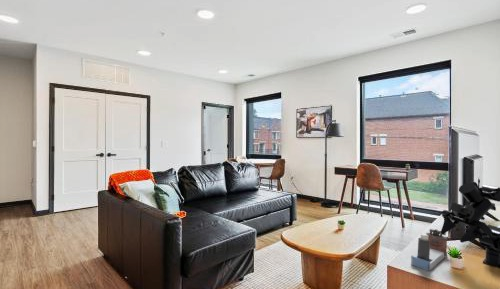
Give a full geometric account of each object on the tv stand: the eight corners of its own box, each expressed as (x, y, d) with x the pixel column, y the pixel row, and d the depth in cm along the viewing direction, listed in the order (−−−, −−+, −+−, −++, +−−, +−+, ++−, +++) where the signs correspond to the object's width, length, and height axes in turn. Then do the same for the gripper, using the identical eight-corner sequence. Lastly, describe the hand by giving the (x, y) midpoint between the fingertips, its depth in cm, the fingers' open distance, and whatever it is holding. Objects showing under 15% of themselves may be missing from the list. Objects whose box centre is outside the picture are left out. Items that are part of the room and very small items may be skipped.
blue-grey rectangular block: (427, 253, 119) (427, 245, 119) (444, 258, 114) (444, 250, 114) (411, 264, 108) (411, 256, 108) (429, 270, 103) (429, 262, 103)
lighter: (424, 249, 123) (425, 228, 123) (427, 247, 125) (427, 226, 125) (445, 255, 117) (446, 233, 117) (447, 253, 119) (448, 231, 119)
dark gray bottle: (421, 262, 110) (422, 232, 110) (431, 266, 106) (432, 235, 106) (414, 264, 108) (416, 233, 108) (424, 268, 105) (426, 237, 104)
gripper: (445, 191, 117) (421, 216, 116) (486, 201, 98) (458, 231, 98) (461, 209, 118) (437, 234, 117) (505, 222, 99) (477, 252, 99)
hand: (450, 237), depth 108 cm, fingers open, 9 cm apart
